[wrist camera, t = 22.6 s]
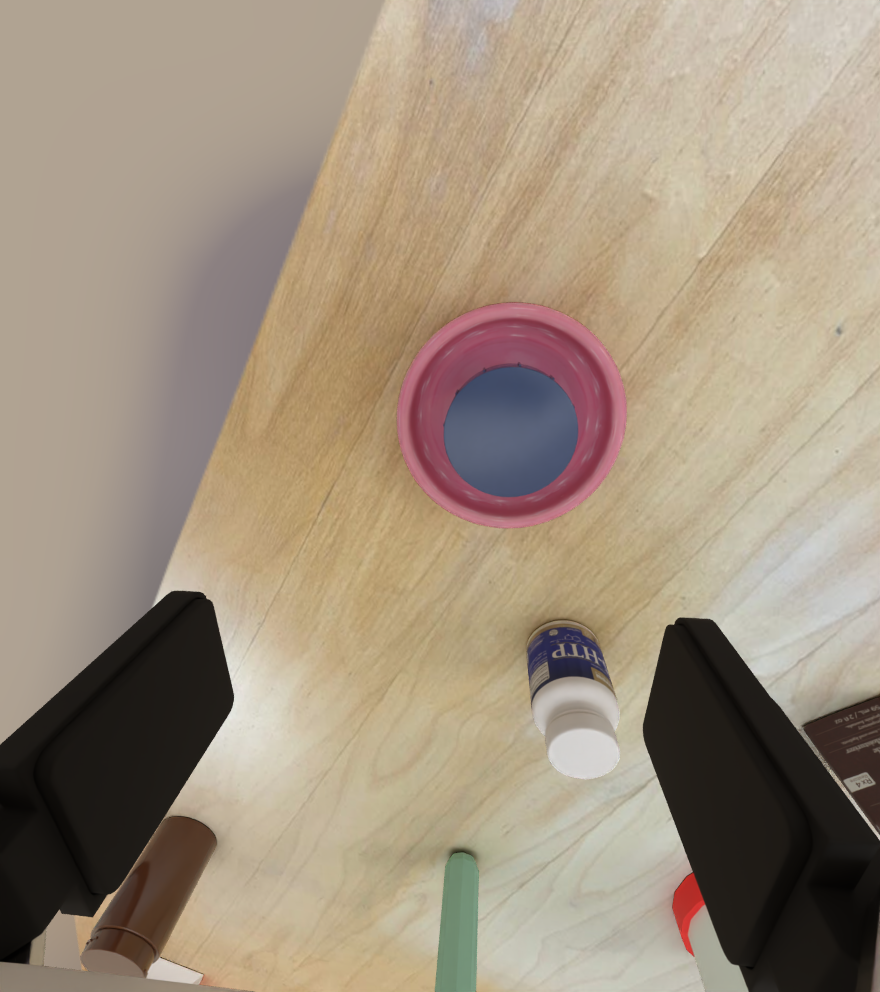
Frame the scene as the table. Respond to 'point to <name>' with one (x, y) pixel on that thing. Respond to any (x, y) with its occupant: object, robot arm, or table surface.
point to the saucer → (513, 339)
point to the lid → (510, 430)
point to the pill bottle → (573, 699)
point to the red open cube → (173, 972)
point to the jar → (150, 900)
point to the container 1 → (458, 926)
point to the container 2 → (704, 940)
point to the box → (853, 752)
